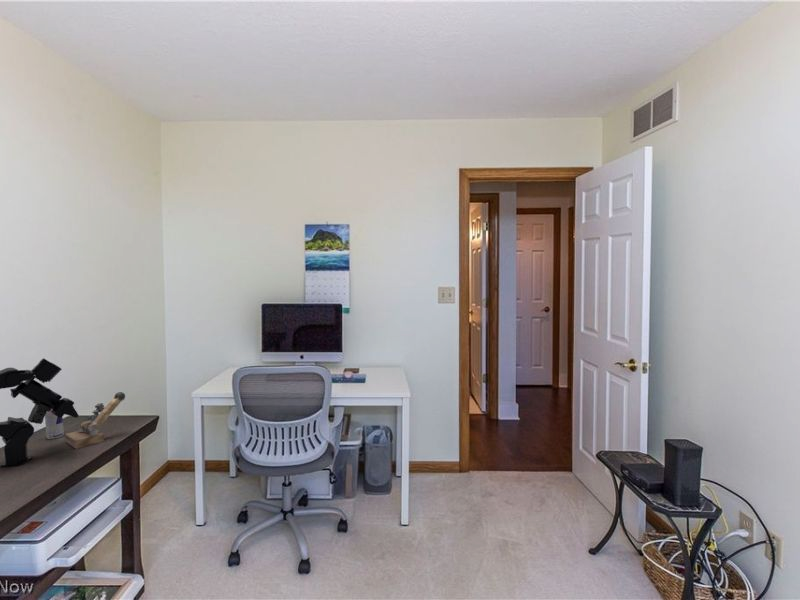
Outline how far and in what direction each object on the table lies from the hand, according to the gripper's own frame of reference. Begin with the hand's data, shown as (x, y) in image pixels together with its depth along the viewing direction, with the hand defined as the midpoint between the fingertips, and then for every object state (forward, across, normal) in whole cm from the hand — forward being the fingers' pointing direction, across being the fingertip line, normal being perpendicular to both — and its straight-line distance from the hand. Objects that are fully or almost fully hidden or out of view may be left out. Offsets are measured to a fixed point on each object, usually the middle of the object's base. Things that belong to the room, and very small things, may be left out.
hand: (77, 416), depth 169 cm
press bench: (+10, -3, -6) cm, 12 cm away
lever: (+7, 0, -2) cm, 8 cm away
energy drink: (+6, -19, -10) cm, 22 cm away
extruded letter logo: (+18, -28, +2) cm, 33 cm away
